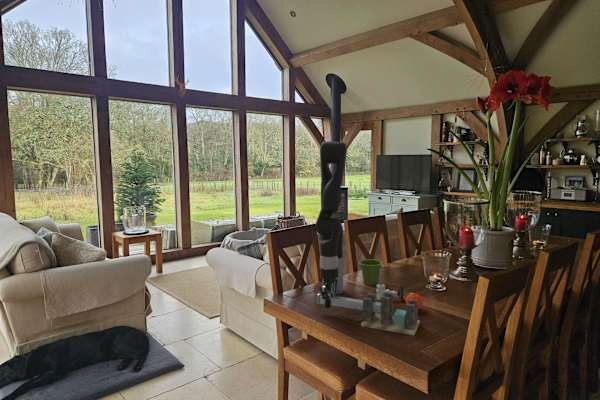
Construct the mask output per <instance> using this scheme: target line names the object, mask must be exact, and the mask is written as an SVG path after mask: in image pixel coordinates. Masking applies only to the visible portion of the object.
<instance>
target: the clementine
mask: <svg viewBox="0 0 600 400" xmlns="http://www.w3.org/2000/svg"><path fill="white" fill-rule="evenodd" d="M409 299H413V300H418V310H420V309H421V308H422V306H423V302H424V301H423V298H422V297H421V295H419V294H418V293H414V292H408V293H406V294H405V305H406V304H409Z"/></svg>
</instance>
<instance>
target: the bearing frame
mask: <svg viewBox="0 0 600 400" xmlns="http://www.w3.org/2000/svg"><path fill="white" fill-rule="evenodd" d="M393 298H394V295H393V293H390V292H385V293H384V296H382V297H381V300H380V303H381V313H376V312H372V302H376V293H372V292H371V293H369V292H367V294H366V297H363V298H362V300H363V310H362V322H361V323H360V326H361V327H363V328H364V327H366V328H371V329H375V330H381V331H386V332H393V333H398V334H405V335H409V336H415V334H416V333H417V330H418V328H419V326H420V322H421V321H420V320H419V319H418V312H419V311H418V310H419V309H418V300H413V299H409V304H406V303H405V311H406V325H405V327H401V326H395V325H394V307H393V306H394V303H393V302H394V299H393Z"/></svg>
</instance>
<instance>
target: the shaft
mask: <svg viewBox="0 0 600 400" xmlns="http://www.w3.org/2000/svg"><path fill="white" fill-rule="evenodd" d="M328 296H329V295H328ZM315 300H316V301H315V302H316V304H318V305H321V304H322V305H325V299H322V295H321V292H318V293H317V294H316V298H315ZM331 306H334V307H339V308H346V309H353V310H357V311H359V310H360V311H363V299H358V298H357V299H356V298H351V297H343V296H339V295H337V296H336V295H334V296H332V295H331ZM372 312H375V313H377V314H381V302H378V301H375V302H372Z"/></svg>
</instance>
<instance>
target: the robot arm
mask: <svg viewBox="0 0 600 400" xmlns="http://www.w3.org/2000/svg"><path fill="white" fill-rule="evenodd" d="M347 149H348V148H347V144H346V142H344V141H322V143H321V144H320V148H319V158H320V174H321V175H320V176H321V177H320V180H321V181H320V183H321V184H320V211H319V214H318V217H317V218H316V222H315V227H314V228H315V231H316V233H317V234H318V235H319V237H320V243H319V244H320V245H319V246H320V247H319V251H320V252H319V253H320V255H319V256H320V257H319V277H320V278H321V279H322V280H321V284H322V285H321V286H320V290H319V291H320V293H321V295H322V299H325V304H324V307H325V308H326V309H330V308H331V307H332V305H331V295H332V296H336V295H340V294H342V293H343V292H344V264H343V263H344V261H343V257H344V255H343V250H344V249H343V245H344V244H343V243H344V242H343V241H344V228H343V225H342V222H341V219H339V218H338V217H332V216H333V215H334V213H338V212H339V208H340V205H341V202H342V188H341V187H342V182H343V177H344V172H345V167H346V161H347ZM330 164H332V165H333V164H335V165H336V164H337V166H336V169H335V171H334V174H333V173H332V171H331V169H330ZM328 295H329V296H328Z"/></svg>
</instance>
